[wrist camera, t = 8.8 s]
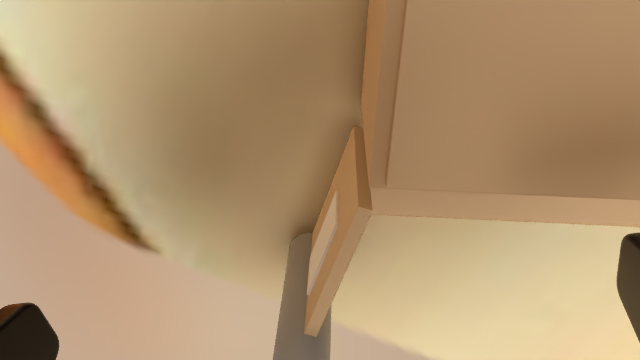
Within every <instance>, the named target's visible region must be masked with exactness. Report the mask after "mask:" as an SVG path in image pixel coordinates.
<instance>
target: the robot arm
mask: <svg viewBox="0 0 640 360" xmlns="http://www.w3.org/2000/svg"><path fill="white" fill-rule="evenodd" d="M617 289H618V293H619V296H620V299H621V301H622V303H623V306H624V308H625V310H626V312H627V315H628V317H629V319H630V322H631V324H632V326H633V328H634V331H635V333H636V335H637V338H638V340H639V342H640V233H633V234H628V235H626V236H625V237H624V238H623V240H622V243H621V249H620V256H619V264H618V272H617ZM58 350H59V340H58V337H57V335H56V333H55V331H54V330H53V329H52V327H51V325H50V324H49V322H48V321H47V319H46V318H45V316H44V315H43V313H42V311H41V310H40V308H39V307H38V306H36V305H35V304H33V303H20V304H12V305H8V306H5V307H3V308H2V309H0V360H56V357H57V354H58Z"/></svg>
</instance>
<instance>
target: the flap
mask: <svg viewBox="0 0 640 360" xmlns="http://www.w3.org/2000/svg"><path fill="white" fill-rule="evenodd" d="M372 211H373V210H372V200H371V190H370V188H369V182H368V172H367V162H366V152H365V142H364V132H363V128H359V127H356V126H353V129H352V131H351V134H350V137H349V139H348V142H347V144H346V147H345V150H344V152H343V155H342V158H341V160H340V163H339V165H338V168H337V171H336V173H335V176H334V178H333V181H332V184H331V186H330V189H329V191H328V194H327V197H326V199H325V202H324V204H323V207H322V210H321V212H320V215H319V218H318V220H317V223H316V225H315V228H314V231H313V233H305V234H301V235H299V236H297V237H296V238H295V239H294V240H293V241H292V242H291V244H290V247H289V254H288V261H287V267H286V274H285V281H284V288H283V294H282V301H281V308H280V315H279V322H278V328H277V335H276V342H275V349H274V356H273V360H330V337H331V303H332V301H333V299H334V296H335V294H336V292H337V290H338V287H339V285H340V283H341V281H342V278H343V276H344V274H345V272H346V269H347V267H348V265H349V263H350V260H351V258H352V256H353V254H354V251H355V249H356V247H357V245H358V242H359V240H360V238H361V236H362V234H363V231H364V229H365V227H366V225H367V222H368V220H369V218H370V216H371V213H372Z"/></svg>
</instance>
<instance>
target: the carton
mask: <svg viewBox="0 0 640 360" xmlns="http://www.w3.org/2000/svg"><path fill="white" fill-rule="evenodd" d="M361 111H362V122H363V132H364V142H365V152H366V162H367V172H368V182H369V188H370V190H371V200H372V210H373V211H372V213H371V214H374V215H395V216H416V217H437V218H459V219H480V220H501V221H522V222H544V223H565V224H586V225H607V226H629V227H640V0H369V4H368V17H367V30H366V43H365V56H364V69H363V82H362V95H361Z"/></svg>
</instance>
